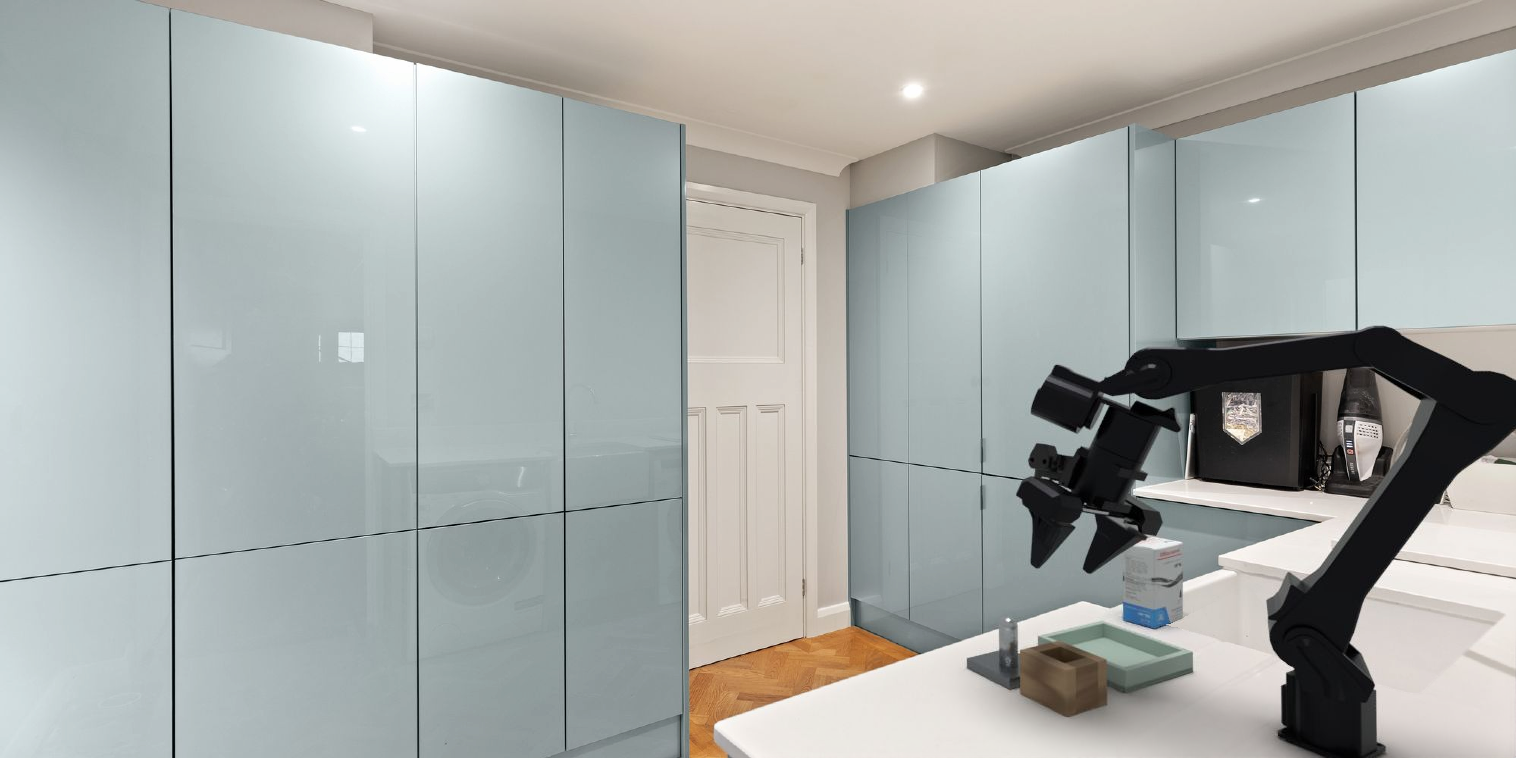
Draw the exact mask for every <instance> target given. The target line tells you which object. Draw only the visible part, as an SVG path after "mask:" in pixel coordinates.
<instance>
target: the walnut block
mask: <svg viewBox="0 0 1516 758" xmlns="http://www.w3.org/2000/svg"><path fill="white" fill-rule="evenodd" d="M1019 654H1020V687H1019V694H1020V695H1023V696H1025V697H1027V698H1029V699H1031V700H1032V701H1034V702H1036V703H1038V704H1040V705H1043V706H1045V707H1046V708H1048V709H1051V710H1052V711H1054V712H1056V713H1058V714H1060V715H1062V716H1064V717H1066V718H1068V717H1071V716H1074V715H1077V714H1081V713H1084V712H1088V711H1091V710H1093V709H1096V708H1097V709H1098V708H1101V707H1103V706H1106V705H1108V685H1107V659H1104V658H1102V657H1099V656H1097V655H1094V654H1092V653H1089V652H1086V651H1084V650H1081V649H1079V648H1076V647H1074V646H1071V645H1069V644H1066V643H1064V642H1061V641H1055V642H1051V643H1047V644H1043V645H1038V644H1037V645H1035V646H1031V647H1027V648H1022V649H1020V650H1019Z"/></svg>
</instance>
